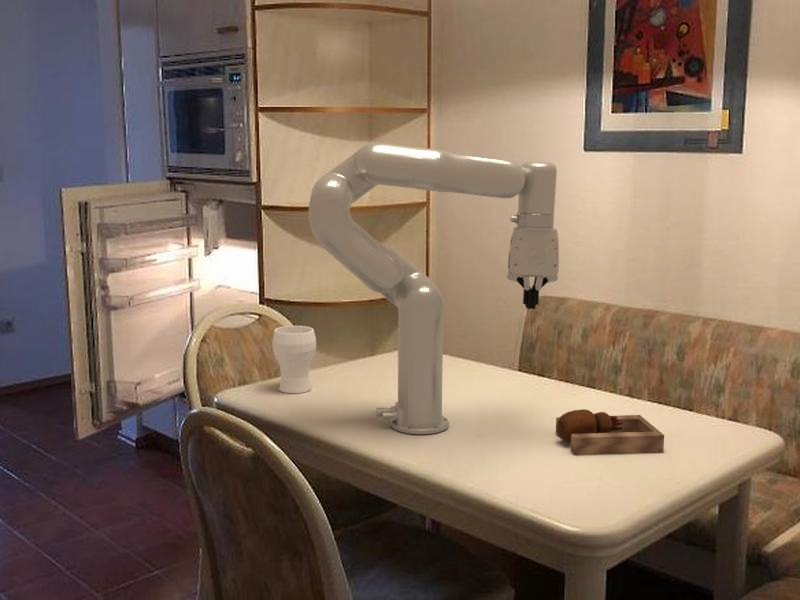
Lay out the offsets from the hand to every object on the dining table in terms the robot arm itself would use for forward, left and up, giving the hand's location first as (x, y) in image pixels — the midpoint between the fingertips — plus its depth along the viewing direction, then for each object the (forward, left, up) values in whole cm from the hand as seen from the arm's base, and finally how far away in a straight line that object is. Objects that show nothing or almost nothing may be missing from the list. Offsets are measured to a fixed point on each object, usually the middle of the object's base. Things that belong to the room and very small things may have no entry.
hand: (530, 307), depth 192 cm
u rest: (+13, -13, -26) cm, 32 cm away
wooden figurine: (+3, -14, -22) cm, 27 cm away
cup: (-50, +32, -26) cm, 65 cm away
